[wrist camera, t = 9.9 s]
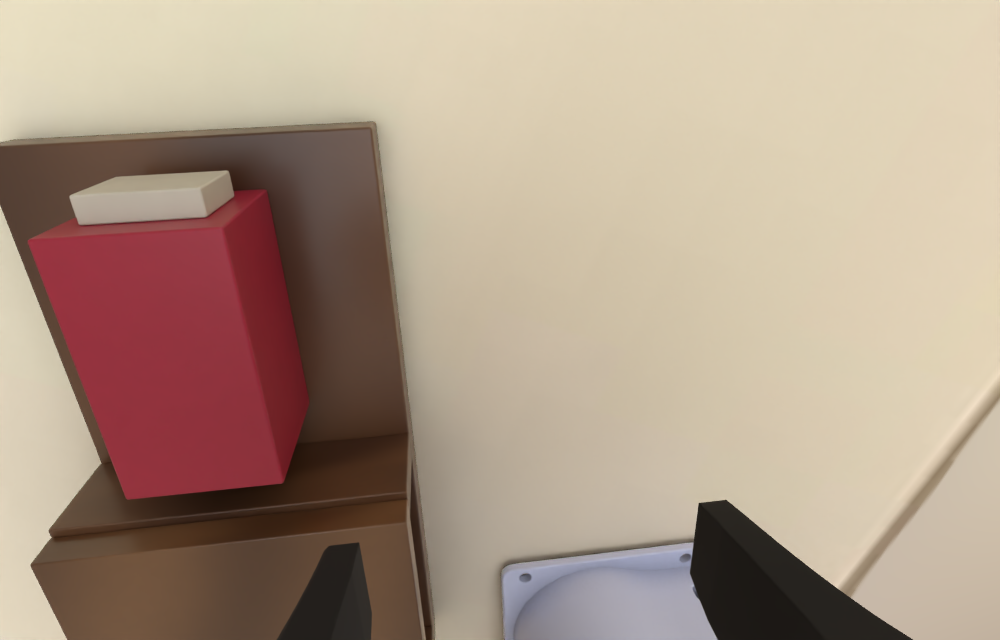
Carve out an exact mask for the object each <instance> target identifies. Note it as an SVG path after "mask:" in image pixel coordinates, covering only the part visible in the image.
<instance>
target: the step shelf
mask: <svg viewBox="0 0 1000 640" xmlns="http://www.w3.org/2000/svg"><path fill="white" fill-rule="evenodd" d="M209 171H229V174H230V178H231V183H232V187H233V191H242V190H259V189H265V190H267V193H268V198H269V203H270V208H271V213H272V218H273V223H274V228H275V233H276V238H277V243H278V248H279V253H280V258H281V263H282V268H283V273H284V278H285V283H286V288H287V293H288V298H289V303H290V308H291V312H292V317H293V322H294V327H295V332H296V337H297V342H298V347H299V352H300V357H301V362H302V367H303V372H304V377H305V382H306V387H307V392H308V397H309V402H310V403H309V406H308V409H307V413H306V416H305V419H304V422H303V425H302V428H301V431H300V434H299V437H298V440H297V443H296V446H295V449H294V452H293V456H292V459H291V462H290V465H289V468H288V471H287V474H286V477H285V480H284V483H282V484H274V485H264V486H254V487H245V488H235V489H226V490H216V491H207V492H197V493H188V494H178V495H169V496H159V497H150V498H140V499H130V500H128V499H126V497H125V495H124V492H123V490H122V487H121V484H120V482H119V479H118V477H117V474H116V471H115V469H114V466H113V464H112V461H111V458H110V456H109V453H108V451H107V448H106V445H105V443H104V440H103V438H102V435H101V432H100V430H99V427H98V425H97V422H96V419H95V417H94V414H93V412H92V409H91V406H90V404H89V401H88V399H87V396H86V393H85V391H84V388H83V386H82V383H81V380H80V378H79V375H78V373H77V370H76V367H75V365H74V362H73V359H72V357H71V354H70V352H69V349H68V346H67V344H66V341H65V339H64V336H63V333H62V331H61V328H60V326H59V323H58V320H57V318H56V315H55V313H54V310H53V307H52V305H51V302H50V300H49V297H48V294H47V292H46V289H45V287H44V284H43V281H42V279H41V276H40V274H39V271H38V268H37V266H36V263H35V261H34V258H33V255H32V253H31V250H30V248H29V245H28V240H29V239H31V238H33V237H35V236H37V235H39V234H41V233H44V232H46V231H48V230H50V229H52V228H54V227H56V226H58V225H61V224H63V223H65V222H67V221H69V220H71V219H73V218H75V217H76V215H75V213H74V210H73V207H72V204H71V201H70V198H69V197H70V195H72V194H74V193H77V192H79V191H82V190H84V189H87V188H89V187H92V186H94V185H97V184H99V183H102V182H104V181H107V180H109V179H112V178H114V177H121V176H138V175H156V174H173V173H191V172H209ZM0 206H1V208H2V211H3V213H4V216H5V218H6V221H7V223H8V226H9V228H10V231H11V233H12V236H13V239H14V241H15V244H16V246H17V249H18V251H19V254H20V256H21V259H22V261H23V264H24V267H25V269H26V272H27V274H28V277H29V279H30V282H31V284H32V287H33V289H34V292H35V295H36V297H37V300H38V302H39V305H40V307H41V310H42V312H43V315H44V317H45V320H46V322H47V325H48V328H49V330H50V333H51V335H52V338H53V340H54V343H55V345H56V348H57V350H58V353H59V356H60V358H61V361H62V363H63V366H64V368H65V371H66V373H67V376H68V378H69V381H70V384H71V386H72V389H73V391H74V394H75V396H76V399H77V401H78V404H79V406H80V409H81V412H82V414H83V417H84V419H85V422H86V424H87V427H88V429H89V432H90V434H91V437H92V439H93V442H94V445H95V447H96V450H97V452H98V455H99V457H100V460H101V462H102V464H100V466H99V467H98V468H97V469H96V471H95V472H94V473H93V474H92V476H91V477H90V478H89V480H88V481H87V482H86V483H85V485H84V486H83V487H82V488H81V490H80V491H79V492H78V494H77V495H76V496H75V497H74V499H73V500H72V501H71V502H70V504H69V505H68V506H67V508H66V509H65V510H64V511H63V513H62V514H61V515H60V516H59V518H58V519H57V520H56V522H55V523H54V524H53V525H52V527H51V528H50V529H49V533H50V535H51V537H52V538H51V539H50V540H49V541H48V543H47V544H46V545H45V546H44V548H43V549H42V550H41V552H40V553H39V554H38V556H37V557H36V558H35V559H34V561H33V562H32V563H31V568H32V570H33V572H34V574H35V576H36V578H37V580H38V582H39V584H40V586H41V588H42V590H43V592H44V594H45V596H46V598H47V600H48V602H49V604H50V606H51V608H52V610H53V612H54V614H55V616H56V618H57V620H58V622H59V624H60V626H61V628H62V630H63V632H64V634H65V636H66V638H67V640H277V638H278V636H279V635H280V633H281V631H282V630H283V628H284V626H285V624H286V623H287V621H288V619H289V618H290V616H291V614H292V612H293V611H294V609H295V607H296V605H297V603H298V602H299V600H300V598H301V596H302V594H303V592H304V590H305V589H306V587H307V585H308V583H309V581H310V579H311V577H312V575H313V573H314V571H315V569H316V567H317V565H318V563H319V561H320V558H321V556H322V554H323V552H324V550H325V549H326V548H327V547H328V546H331V545H340V544H348V543H357V542H359V544H360V549H361V555H362V561H363V566H364V572H365V577H366V583H367V588H368V594H369V599H370V605H371V610H372V627H371V640H435V617H434V608H433V600H432V592H431V583H430V575H429V566H428V558H427V549H426V541H425V533H424V524H423V516H422V507H421V499H420V490H419V482H418V474H417V465H416V457H415V448H414V440H413V431H412V423H411V415H410V406H409V398H408V389H407V381H406V373H405V364H404V356H403V347H402V339H401V330H400V322H399V314H398V305H397V297H396V288H395V280H394V271H393V263H392V255H391V246H390V238H389V229H388V221H387V212H386V204H385V196H384V187H383V179H382V170H381V162H380V153H379V145H378V137H377V128H376V123H375V122H353V123H334V124H314V125H294V126H274V127H255V128H235V129H215V130H195V131H176V132H156V133H136V134H116V135H97V136H77V137H57V138H37V139H18V140H10V141H5V142H1V143H0Z"/></svg>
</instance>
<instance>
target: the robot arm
mask: <svg viewBox="0 0 1000 640" xmlns="http://www.w3.org/2000/svg"><path fill="white" fill-rule="evenodd" d="M683 554H684V555H683ZM525 573H528V574H526V575H522V574H525ZM501 587H502V607H503V627H504V640H913V639H911V638H910V637H908V636H906V635H905V634H903V633H902V632H900V631H898V630H897V629H895V628H894V627H892V626H891V625H889V624H887V623H886V622H884V621H883V620H881V619H880V618H878V617H877V616H875V615H874V614H872V613H871V612H870V611H868V610H867V609H865V608H864V607H862V606H861V605H860V604H858V603H857V602H855V601H854V600H853V599H851V598H850V597H848V596H847V595H846V594H844V593H843V592H841V591H840V590H839V589H837V588H836V587H835V586H833V585H832V584H831V583H829V582H828V581H826V580H825V579H824V578H822V577H821V576H820V575H819V574H817V573H816V572H815V571H813V570H812V569H811V568H809V567H808V566H807V565H806V564H804V563H803V562H802V561H800V560H799V559H798V558H797V557H795V556H794V555H793V554H792V553H790V552H789V551H788V550H787V549H785V548H784V547H783V546H782V545H780V544H779V543H778V542H777V541H776V540H774V539H773V538H772V537H771V536H769V535H768V534H767V533H766V532H765V531H763V530H762V529H761V528H760V527H759V526H757V525H756V524H755V523H754V522H752V521H751V520H750V519H749V518H748V517H746V516H745V515H744V514H743V513H742V512H740V511H739V510H738V509H737V508H735V507H734V506H733V505H732V504H730V503H729V502H728V501H727V500H722V501H713V502H705V503H699V506H698V514H697V521H696V529H695V537H694V542H690V543H682V544H674V545H665V546H657V547H649V548H641V549H632V550H624V551H616V552H608V553H599V554H591V555H583V556H575V557H566V558H558V559H550V560H542V561H533V562H525V563H517V564H511V565H507V566H506V567H504V568H503V570H502V571H501ZM371 627H372V610H371V605H370V599H369V594H368V588H367V583H366V577H365V572H364V566H363V561H362V555H361V549H360V544H359V542H357V543H348V544H340V545H331V546H328V547H327V548H326V549H325V550H324V552H323V554H322V556H321V558H320V561H319V563H318V565H317V567H316V569H315V571H314V573H313V575H312V577H311V579H310V581H309V583H308V585H307V587H306V589H305V590H304V592H303V594H302V596H301V598H300V600H299V602H298V603H297V605H296V607H295V609H294V611H293V612H292V614H291V616H290V618H289V619H288V621H287V623H286V624H285V626H284V628H283V630H282V631H281V633H280V635H279V636H278V638H277V640H371Z"/></svg>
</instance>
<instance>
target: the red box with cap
mask: <svg viewBox="0 0 1000 640" xmlns="http://www.w3.org/2000/svg"><path fill="white" fill-rule="evenodd" d="M69 198H70V201H71V204H72V207H73V210H74V213H75V215H76V217H75V218H73V219H71V220H69V221H67V222H65V223H63V224H61V225H58V226H56V227H54V228H52V229H50V230H48V231H46V232H44V233H41V234H39V235H37V236H35V237H33V238H31V239H29V240H28V245H29V248H30V250H31V253H32V255H33V258H34V261H35V263H36V266H37V268H38V271H39V274H40V276H41V279H42V281H43V284H44V287H45V289H46V292H47V294H48V297H49V300H50V302H51V305H52V307H53V310H54V313H55V315H56V318H57V320H58V323H59V326H60V328H61V331H62V333H63V336H64V339H65V341H66V344H67V346H68V349H69V352H70V354H71V357H72V359H73V362H74V365H75V367H76V370H77V373H78V375H79V378H80V380H81V383H82V386H83V388H84V391H85V393H86V396H87V399H88V401H89V404H90V406H91V409H92V412H93V414H94V417H95V419H96V422H97V425H98V427H99V430H100V432H101V435H102V438H103V440H104V443H105V445H106V448H107V451H108V453H109V456H110V458H111V461H112V464H113V466H114V469H115V471H116V474H117V477H118V479H119V482H120V484H121V487H122V490H123V492H124V495H125V497H126V499H128V500H130V499H140V498H150V497H159V496H169V495H178V494H188V493H197V492H207V491H216V490H226V489H235V488H245V487H254V486H264V485H274V484H282V483H284V480H285V477H286V474H287V471H288V468H289V465H290V462H291V459H292V456H293V452H294V449H295V446H296V443H297V440H298V437H299V434H300V431H301V428H302V425H303V422H304V419H305V416H306V413H307V409H308V406H309V403H310V402H309V397H308V392H307V387H306V382H305V377H304V372H303V367H302V362H301V357H300V352H299V347H298V342H297V337H296V332H295V327H294V322H293V317H292V312H291V308H290V303H289V298H288V293H287V288H286V283H285V278H284V273H283V268H282V263H281V258H280V253H279V248H278V243H277V238H276V233H275V228H274V223H273V218H272V213H271V208H270V203H269V198H268V193H267V190H265V189H259V190H242V191H233V187H232V183H231V178H230V174H229V171H209V172H191V173H173V174H156V175H138V176H121V177H114V178H112V179H109V180H107V181H104V182H102V183H99V184H97V185H94V186H92V187H89V188H87V189H84V190H82V191H79V192H77V193H74V194H72V195H70V197H69Z"/></svg>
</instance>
